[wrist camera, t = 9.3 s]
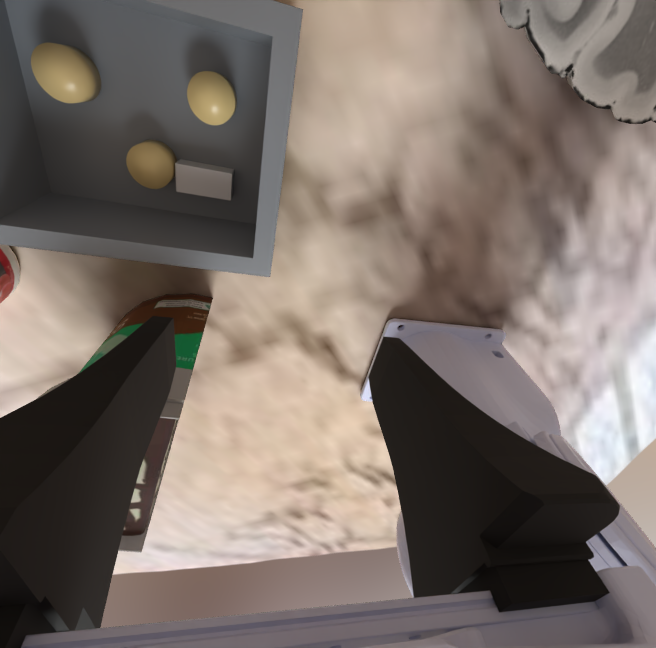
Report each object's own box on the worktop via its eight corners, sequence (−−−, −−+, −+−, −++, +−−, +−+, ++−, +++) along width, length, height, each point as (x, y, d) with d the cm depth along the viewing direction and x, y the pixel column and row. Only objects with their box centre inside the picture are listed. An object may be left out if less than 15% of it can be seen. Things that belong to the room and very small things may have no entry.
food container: (102, 243, 18) (-35, 373, 10) (218, 277, 20) (182, 408, 12) (90, 396, 24) (-1, 553, 16) (181, 410, 26) (140, 557, 18)
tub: (294, 29, 14) (302, 9, 10) (270, 235, 19) (269, 277, 15) (-23, -63, 12) (-180, -137, 8) (45, 201, 17) (-29, 240, 13)
